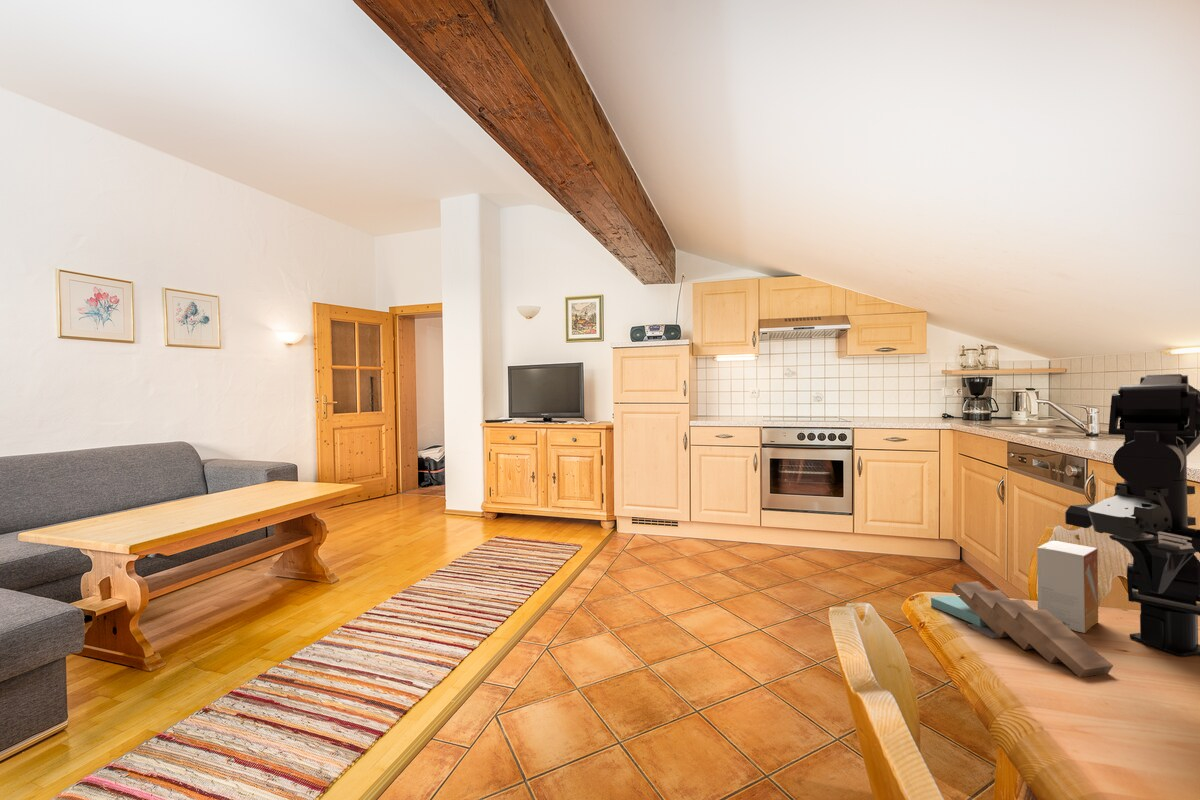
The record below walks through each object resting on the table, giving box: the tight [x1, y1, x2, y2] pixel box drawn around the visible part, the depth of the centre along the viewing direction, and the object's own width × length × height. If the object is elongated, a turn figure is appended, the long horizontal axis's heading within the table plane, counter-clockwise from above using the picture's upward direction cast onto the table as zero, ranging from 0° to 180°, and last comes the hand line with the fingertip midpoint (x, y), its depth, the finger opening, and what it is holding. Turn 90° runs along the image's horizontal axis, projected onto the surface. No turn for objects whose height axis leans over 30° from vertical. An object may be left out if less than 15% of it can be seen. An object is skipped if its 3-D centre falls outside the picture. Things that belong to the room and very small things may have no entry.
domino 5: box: [1015, 609, 1114, 678], centre depth 75 cm, size 5×2×10 cm
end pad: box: [968, 623, 1011, 639], centre depth 85 cm, size 7×4×1 cm, turn 100°
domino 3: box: [971, 589, 1036, 651], centre depth 82 cm, size 5×2×10 cm
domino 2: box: [951, 580, 1009, 638], centre depth 86 cm, size 5×2×10 cm
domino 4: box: [992, 598, 1063, 664], centre depth 79 cm, size 5×2×10 cm
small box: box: [1036, 540, 1099, 634], centre depth 88 cm, size 8×6×13 cm
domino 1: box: [930, 595, 988, 627], centre depth 91 cm, size 5×2×10 cm
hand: (1156, 592), depth 68 cm, fingers closed
